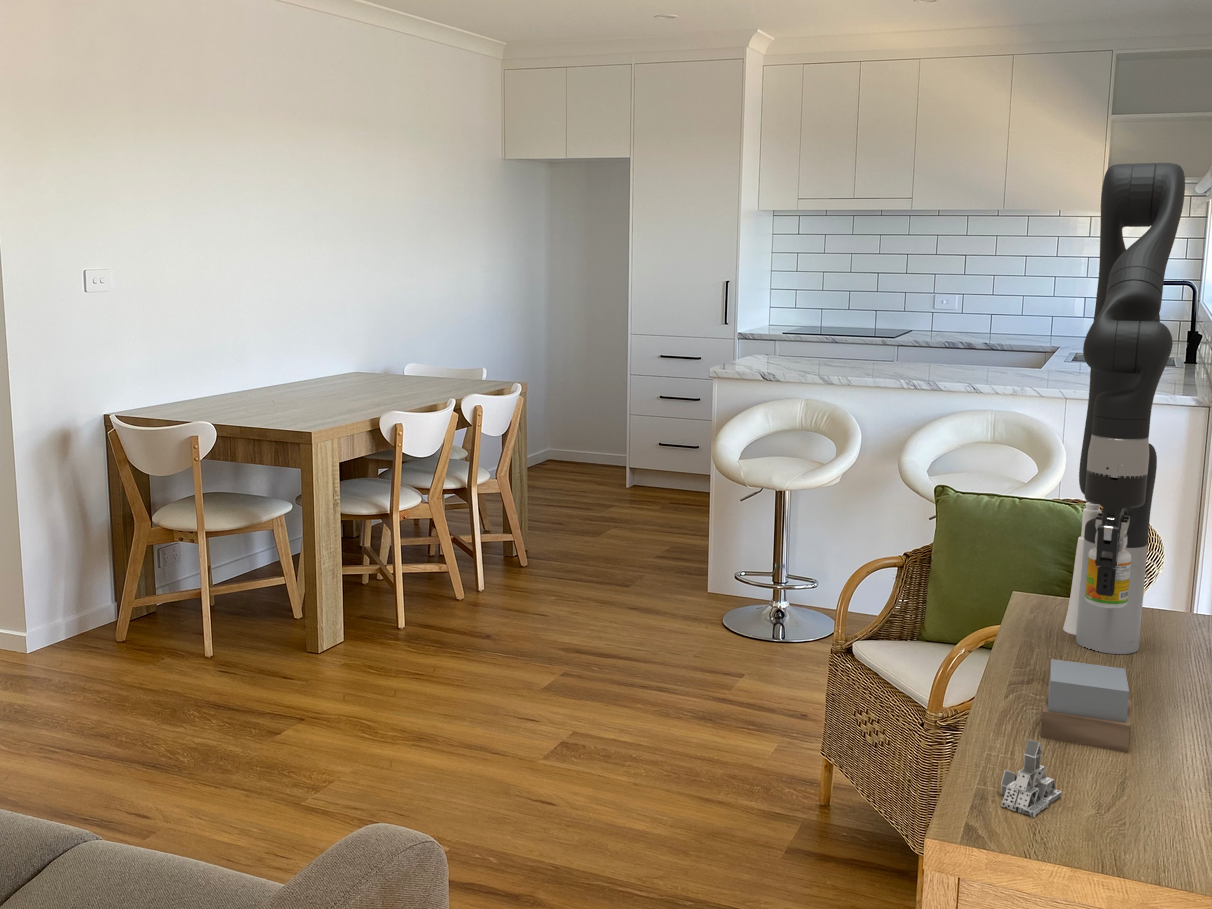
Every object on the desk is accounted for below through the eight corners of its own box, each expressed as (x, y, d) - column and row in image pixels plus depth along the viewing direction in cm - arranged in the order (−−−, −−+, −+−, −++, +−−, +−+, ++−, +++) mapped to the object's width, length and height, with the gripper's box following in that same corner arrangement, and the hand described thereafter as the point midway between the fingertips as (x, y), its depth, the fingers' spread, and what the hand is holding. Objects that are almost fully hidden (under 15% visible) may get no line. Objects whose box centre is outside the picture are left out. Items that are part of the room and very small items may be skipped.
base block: (1046, 714, 148) (1049, 686, 148) (1128, 728, 144) (1131, 699, 143) (1040, 741, 139) (1042, 711, 139) (1127, 756, 135) (1130, 726, 134)
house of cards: (995, 773, 130) (1000, 711, 129) (1068, 798, 124) (1074, 733, 122) (958, 796, 124) (962, 732, 122) (1033, 824, 117) (1038, 756, 116)
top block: (1048, 687, 147) (1051, 659, 147) (1122, 697, 144) (1125, 668, 143) (1048, 710, 139) (1050, 680, 138) (1126, 722, 136) (1129, 691, 135)
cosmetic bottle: (1095, 627, 186) (1105, 500, 183) (1107, 638, 181) (1118, 507, 177) (1058, 625, 187) (1068, 499, 184) (1069, 637, 181) (1079, 506, 178)
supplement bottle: (1080, 596, 155) (1086, 529, 153) (1121, 598, 154) (1127, 531, 152) (1089, 607, 150) (1094, 538, 148) (1131, 610, 149) (1137, 540, 147)
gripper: (1092, 458, 157) (1083, 573, 159) (1081, 474, 144) (1071, 598, 147) (1151, 463, 153) (1140, 580, 156) (1144, 480, 141) (1132, 607, 143)
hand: (1106, 588), depth 151 cm, fingers closed on supplement bottle, 5 cm apart
